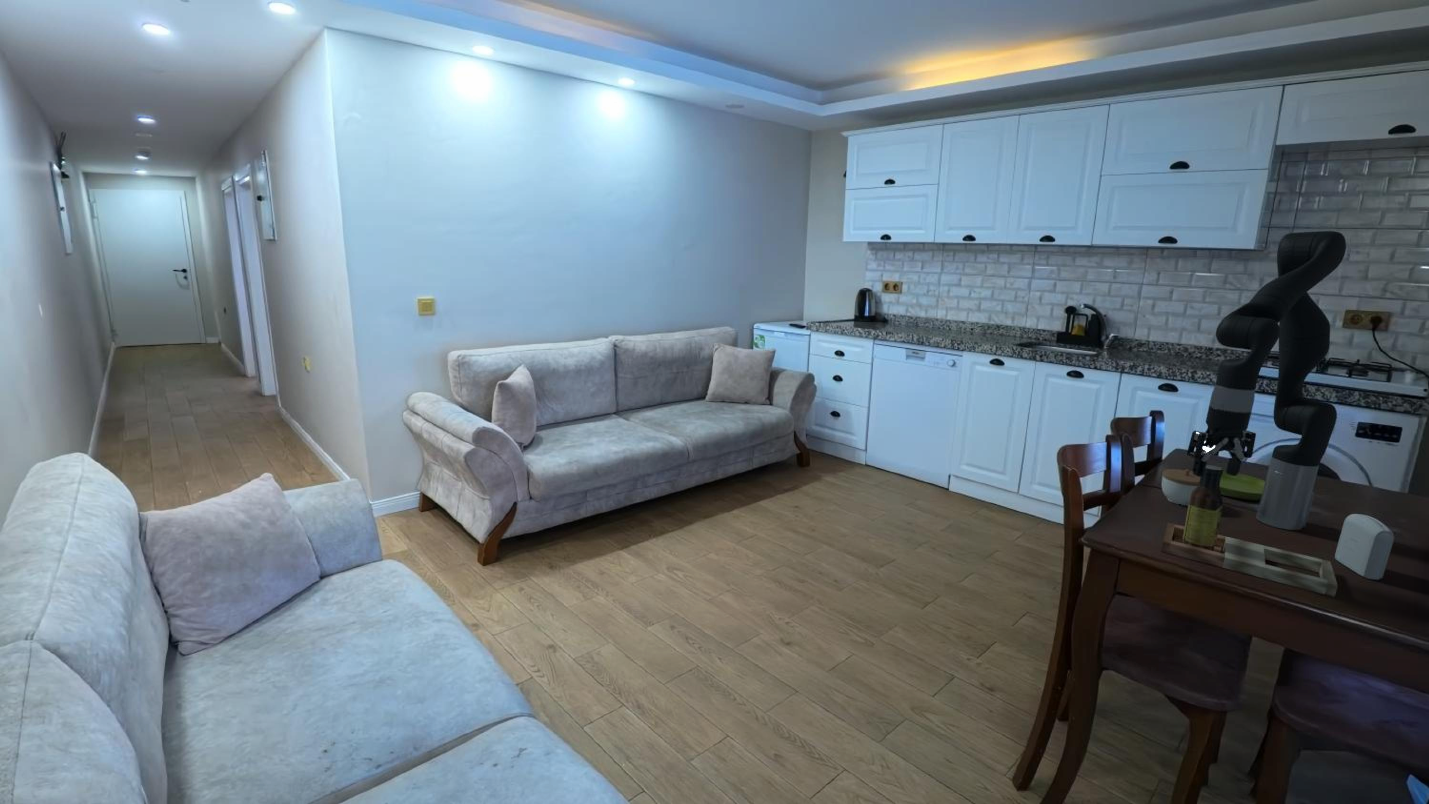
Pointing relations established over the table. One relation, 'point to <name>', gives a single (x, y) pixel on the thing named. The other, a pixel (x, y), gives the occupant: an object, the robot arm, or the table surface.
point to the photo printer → (1364, 545)
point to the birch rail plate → (1255, 560)
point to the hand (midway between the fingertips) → (1214, 475)
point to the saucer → (1241, 486)
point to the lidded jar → (1179, 485)
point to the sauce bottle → (1204, 511)
